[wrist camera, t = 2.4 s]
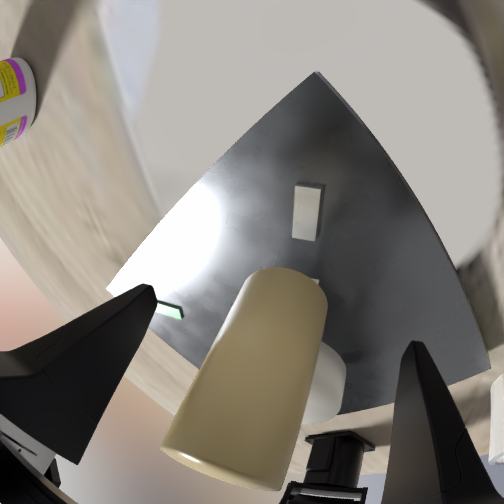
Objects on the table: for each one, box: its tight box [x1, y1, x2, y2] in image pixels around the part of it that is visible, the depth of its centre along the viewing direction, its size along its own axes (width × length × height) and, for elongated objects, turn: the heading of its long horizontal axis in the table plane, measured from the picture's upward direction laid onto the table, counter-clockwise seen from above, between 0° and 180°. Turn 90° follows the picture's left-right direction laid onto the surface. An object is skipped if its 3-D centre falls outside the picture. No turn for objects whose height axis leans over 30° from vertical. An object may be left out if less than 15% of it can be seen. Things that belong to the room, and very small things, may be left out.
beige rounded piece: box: [160, 267, 346, 491], centre depth 11 cm, size 12×7×8 cm, turn 2°
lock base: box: [106, 72, 491, 415], centre depth 17 cm, size 20×20×3 cm
